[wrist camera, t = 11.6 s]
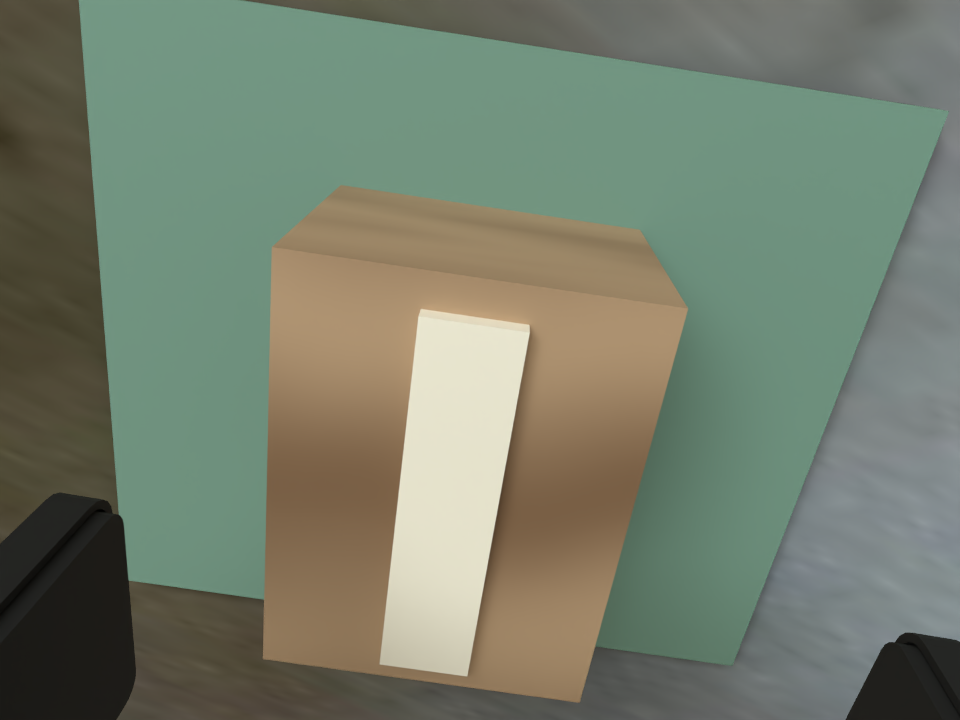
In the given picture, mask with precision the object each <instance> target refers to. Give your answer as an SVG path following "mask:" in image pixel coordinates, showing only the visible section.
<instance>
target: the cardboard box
mask: <svg viewBox="0 0 960 720" xmlns="http://www.w3.org/2000/svg"><path fill="white" fill-rule="evenodd" d="M687 311H688V307H687V306H686V304H685V303H684V301H683V299H682V298H681V296H680V294H679V293H678V291H677V289H676V288H675V286H674V285H673V283H672V281H671V280H670V278H669V276H668V275H667V273H666V271H665V270H664V268H663V267H662V265H661V263H660V262H659V260H658V258H657V257H656V255H655V253H654V252H653V250H652V249H651V247H650V245H649V244H648V242H647V240H646V239H645V237H644V235H643V234H642V232H641V231H640V230H638V229H632V228H625V227H618V226H612V225H605V224H598V223H591V222H585V221H578V220H571V219H565V218H558V217H551V216H545V215H538V214H531V213H525V212H518V211H511V210H505V209H498V208H491V207H484V206H478V205H471V204H464V203H458V202H451V201H444V200H438V199H431V198H424V197H418V196H411V195H404V194H398V193H391V192H384V191H377V190H371V189H364V188H357V187H351V186H344V185H340V186H339V187H338V188H337V189H336V190H335V191H334V192H332V193H331V194H330V195H329V196H328V197H327V198H326V199H325V200H324V201H322V202H321V203H320V204H319V205H318V206H317V207H316V208H315V209H314V210H312V211H311V212H310V213H309V214H308V215H307V216H306V217H305V218H304V219H302V220H301V221H300V222H299V223H298V224H297V225H296V226H295V227H294V228H292V229H291V230H290V231H289V232H288V233H287V234H286V235H285V236H284V237H282V238H281V239H280V240H279V241H278V242H277V243H276V244H275V245H274V246H272V260H271V307H270V354H269V401H268V448H267V495H266V542H265V589H264V636H263V659H267V660H275V661H282V662H289V663H296V664H303V665H311V666H318V667H325V668H332V669H340V670H347V671H354V672H361V673H368V674H376V675H383V676H390V677H397V678H405V679H412V680H419V681H426V682H433V683H441V684H448V685H455V686H462V687H470V688H477V689H484V690H491V691H498V692H506V693H513V694H520V695H527V696H535V697H542V698H549V699H556V700H563V701H571V702H578V703H580V699H581V696H582V692H583V688H584V685H585V681H586V677H587V674H588V670H589V667H590V663H591V659H592V656H593V652H594V648H595V645H596V641H597V638H598V634H599V630H600V627H601V623H602V619H603V616H604V612H605V609H606V605H607V601H608V598H609V594H610V590H611V587H612V583H613V580H614V576H615V572H616V569H617V565H618V561H619V558H620V554H621V551H622V547H623V543H624V540H625V536H626V532H627V529H628V525H629V522H630V518H631V514H632V511H633V507H634V503H635V500H636V496H637V493H638V489H639V485H640V482H641V478H642V474H643V471H644V467H645V464H646V460H647V456H648V453H649V449H650V445H651V442H652V438H653V435H654V431H655V427H656V424H657V420H658V416H659V413H660V409H661V406H662V402H663V398H664V395H665V391H666V387H667V384H668V380H669V377H670V373H671V369H672V366H673V362H674V358H675V355H676V351H677V348H678V344H679V340H680V337H681V333H682V329H683V326H684V322H685V319H686V315H687Z"/></svg>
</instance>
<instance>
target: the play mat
mask: <svg viewBox="0 0 960 720" xmlns="http://www.w3.org/2000/svg"><path fill="white" fill-rule="evenodd" d="M79 8H80V20H81V33H82V46H83V59H84V72H85V84H86V97H87V110H88V123H89V136H90V149H91V161H92V174H93V187H94V200H95V213H96V226H97V238H98V251H99V264H100V277H101V290H102V303H103V315H104V328H105V341H106V354H107V367H108V379H109V392H110V405H111V418H112V431H113V444H114V456H115V469H116V482H117V495H118V508H119V515H120V516H121V517H122V519H123V523H124V532H125V544H126V556H127V568H128V580H130V581H137V582H144V583H151V584H158V585H165V586H172V587H179V588H187V589H194V590H201V591H208V592H215V593H222V594H229V595H236V596H243V597H250V598H257V599H264V589H265V542H266V495H267V448H268V401H269V354H270V307H271V260H272V246H274V245H275V244H276V243H277V242H278V241H279V240H280V239H281V238H282V237H284V236H285V235H286V234H287V233H288V232H289V231H290V230H291V229H292V228H294V227H295V226H296V225H297V224H298V223H299V222H300V221H301V220H302V219H304V218H305V217H306V216H307V215H308V214H309V213H310V212H311V211H312V210H314V209H315V208H316V207H317V206H318V205H319V204H320V203H321V202H322V201H324V200H325V199H326V198H327V197H328V196H329V195H330V194H331V193H332V192H334V191H335V190H336V189H337V188H338V187H339V186H340V185H344V186H351V187H357V188H364V189H371V190H377V191H384V192H391V193H398V194H404V195H411V196H418V197H424V198H431V199H438V200H444V201H451V202H458V203H464V204H471V205H478V206H484V207H491V208H498V209H505V210H511V211H518V212H525V213H531V214H538V215H545V216H551V217H558V218H565V219H571V220H578V221H585V222H591V223H598V224H605V225H612V226H618V227H625V228H632V229H638V230H640V231H641V232H642V234H643V235H644V237H645V239H646V240H647V242H648V244H649V245H650V247H651V249H652V250H653V252H654V253H655V255H656V257H657V258H658V260H659V262H660V263H661V265H662V267H663V268H664V270H665V271H666V273H667V275H668V276H669V278H670V280H671V281H672V283H673V285H674V286H675V288H676V289H677V291H678V293H679V294H680V296H681V298H682V299H683V301H684V303H685V304H686V306H687V307H688V311H687V315H686V319H685V322H684V326H683V329H682V333H681V337H680V340H679V344H678V348H677V351H676V355H675V358H674V362H673V366H672V369H671V373H670V377H669V380H668V384H667V387H666V391H665V395H664V398H663V402H662V406H661V409H660V413H659V416H658V420H657V424H656V427H655V431H654V435H653V438H652V442H651V445H650V449H649V453H648V456H647V460H646V464H645V467H644V471H643V474H642V478H641V482H640V485H639V489H638V493H637V496H636V500H635V503H634V507H633V511H632V514H631V518H630V522H629V525H628V529H627V532H626V536H625V540H624V543H623V547H622V551H621V554H620V558H619V561H618V565H617V569H616V572H615V576H614V580H613V583H612V587H611V590H610V594H609V598H608V601H607V605H606V609H605V612H604V616H603V619H602V623H601V627H600V630H599V634H598V638H597V641H596V645H595V647H602V648H609V649H617V650H624V651H631V652H638V653H645V654H652V655H659V656H666V657H673V658H680V659H687V660H694V661H701V662H708V663H715V664H722V665H729V666H733V663H734V660H735V658H736V655H737V653H738V650H739V648H740V645H741V643H742V640H743V637H744V635H745V632H746V630H747V627H748V625H749V622H750V619H751V617H752V614H753V612H754V609H755V607H756V604H757V602H758V599H759V596H760V594H761V591H762V589H763V586H764V584H765V581H766V579H767V576H768V573H769V571H770V568H771V566H772V563H773V561H774V558H775V555H776V553H777V550H778V548H779V545H780V543H781V540H782V538H783V535H784V532H785V530H786V527H787V525H788V522H789V520H790V517H791V515H792V512H793V509H794V507H795V504H796V502H797V499H798V497H799V494H800V491H801V489H802V486H803V484H804V481H805V479H806V476H807V474H808V471H809V468H810V466H811V463H812V461H813V458H814V456H815V453H816V451H817V448H818V445H819V443H820V440H821V438H822V435H823V433H824V430H825V428H826V425H827V422H828V420H829V417H830V415H831V412H832V410H833V407H834V404H835V402H836V399H837V397H838V394H839V392H840V389H841V387H842V384H843V381H844V379H845V376H846V374H847V371H848V369H849V366H850V364H851V361H852V358H853V356H854V353H855V351H856V348H857V346H858V343H859V340H860V338H861V335H862V333H863V330H864V328H865V325H866V323H867V320H868V317H869V315H870V312H871V310H872V307H873V305H874V302H875V300H876V297H877V294H878V292H879V289H880V287H881V284H882V282H883V279H884V276H885V274H886V271H887V269H888V266H889V264H890V261H891V259H892V256H893V253H894V251H895V248H896V246H897V243H898V241H899V238H900V236H901V233H902V230H903V228H904V225H905V223H906V220H907V218H908V215H909V213H910V210H911V207H912V205H913V202H914V200H915V197H916V195H917V192H918V189H919V187H920V184H921V182H922V179H923V177H924V174H925V172H926V169H927V166H928V164H929V161H930V159H931V156H932V154H933V151H934V149H935V146H936V143H937V141H938V138H939V136H940V133H941V131H942V128H943V125H944V123H945V120H946V118H947V115H948V113H949V111H945V110H940V109H934V108H927V107H921V106H915V105H908V104H902V103H895V102H889V101H883V100H876V99H870V98H863V97H857V96H851V95H844V94H838V93H831V92H825V91H819V90H812V89H806V88H799V87H793V86H787V85H780V84H774V83H767V82H761V81H755V80H748V79H742V78H735V77H729V76H723V75H716V74H710V73H703V72H697V71H691V70H684V69H678V68H672V67H665V66H659V65H652V64H646V63H640V62H633V61H627V60H620V59H614V58H608V57H601V56H595V55H588V54H582V53H576V52H569V51H563V50H556V49H550V48H544V47H537V46H531V45H524V44H518V43H512V42H505V41H499V40H492V39H486V38H480V37H473V36H467V35H460V34H454V33H448V32H441V31H435V30H428V29H422V28H416V27H409V26H403V25H396V24H390V23H384V22H377V21H371V20H364V19H358V18H352V17H345V16H339V15H332V14H326V13H320V12H313V11H307V10H300V9H294V8H288V7H281V6H275V5H269V4H262V3H256V2H249V1H243V0H79Z"/></svg>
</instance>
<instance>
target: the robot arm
mask: <svg viewBox="0 0 960 720" xmlns="http://www.w3.org/2000/svg"><path fill="white" fill-rule="evenodd" d="M135 676H136V666H135V653H134V641H133V629H132V617H131V605H130V592H129V580H128V568H127V556H126V544H125V532H124V523H123V519H122V517H121V516H120V515H117V514H113V513H112V509H111V506H110V504H109V503H108V501H105V500H101V499H95V498H89V497H83V496H77V495H71V494H65V493H57V494H53V495H52V496H50V497H49V498H48V499H46V500H45V501H44V502H43V503H42V504H41V505H40V506H39V507H38V508H37V509H36V510H35V511H34V512H33V513H32V514H31V515H30V516H29V517H28V518H27V519H26V520H25V521H24V522H22V523H21V524H20V525H19V526H18V527H17V528H16V529H15V530H14V531H13V532H12V533H11V534H10V535H9V536H8V537H7V538H6V539H5V540H4V541H3V542H2V543H1V544H0V720H116V719H117V718H118V716H119V714H120V713H121V711H122V709H123V708H124V706H125V705H126V703H127V701H128V699H129V697H130V694H131V692H132V689H133V685H134V682H135ZM846 720H960V642H959V641H957V640H953V639H947V638H940V637H934V636H928V635H922V634H916V633H904V634H902V635H901V636H899V638H898V639H897V640H896V642H895V643H894V642H889V643H887V644H885V645H884V647H883V648H882V650H881V651H880V653H879V655H878V657H877V659H876V661H875V663H874V665H873V667H872V669H871V671H870V673H869V675H868V677H867V679H866V681H865V683H864V685H863V687H862V689H861V691H860V692H859V694H858V696H857V698H856V700H855V702H854V704H853V706H852V708H851V710H850V712H849V714H848V716H847V718H846Z"/></svg>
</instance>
